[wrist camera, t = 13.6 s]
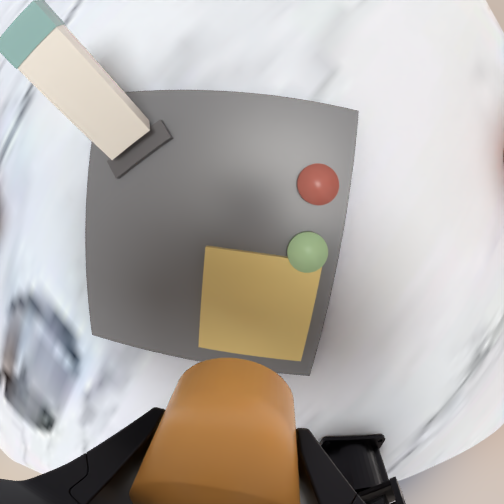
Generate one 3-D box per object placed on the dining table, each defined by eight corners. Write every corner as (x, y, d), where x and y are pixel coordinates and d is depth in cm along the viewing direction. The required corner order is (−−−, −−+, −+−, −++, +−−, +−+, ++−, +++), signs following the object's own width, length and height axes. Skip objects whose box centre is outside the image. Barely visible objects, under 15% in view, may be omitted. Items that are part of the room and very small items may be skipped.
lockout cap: (304, 365, 9) (322, 493, 4) (282, 444, 10) (282, 545, 5) (173, 347, 9) (111, 459, 4) (178, 429, 10) (144, 524, 5)
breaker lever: (150, 130, 15) (33, 0, 6) (111, 161, 15) (-7, 45, 6) (149, 119, 16) (42, -1, 7) (113, 148, 16) (5, 40, 7)
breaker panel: (354, 113, 16) (360, 109, 14) (308, 369, 20) (310, 379, 19) (105, 97, 16) (96, 93, 15) (96, 330, 20) (89, 337, 19)
